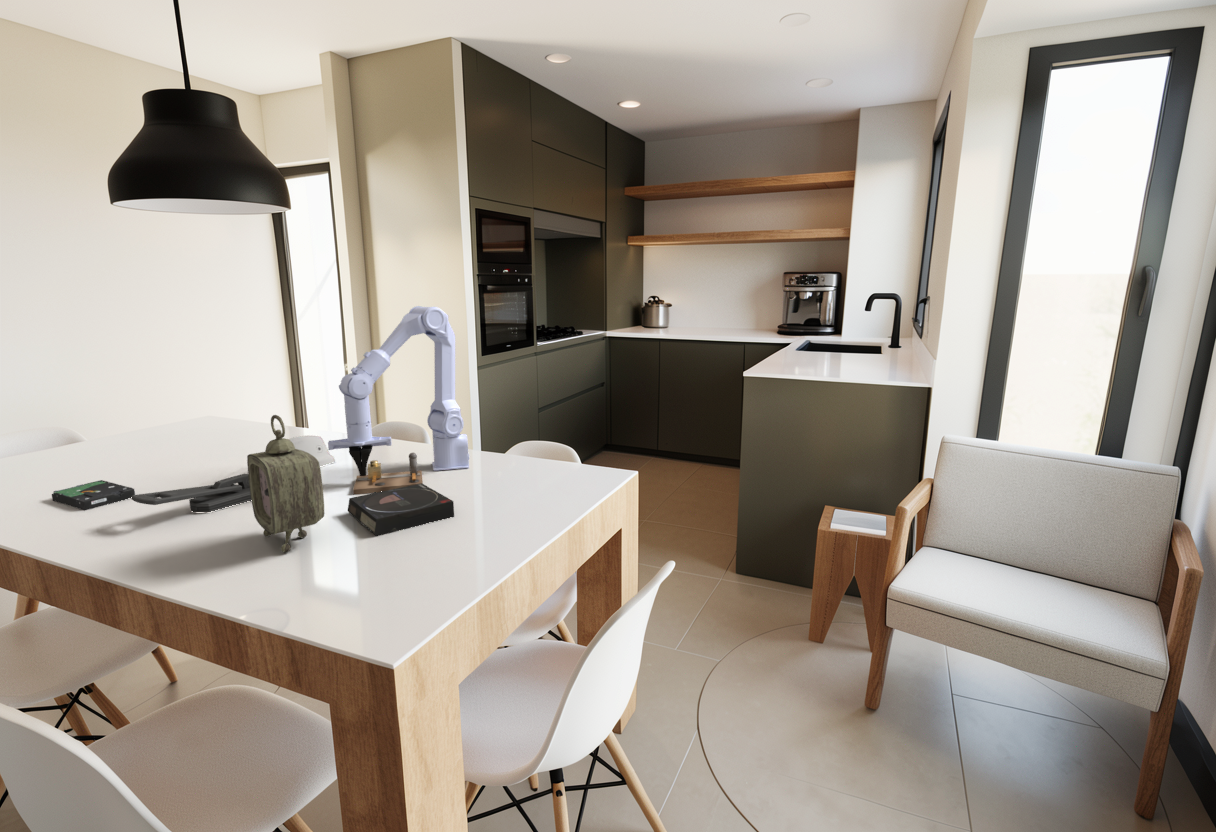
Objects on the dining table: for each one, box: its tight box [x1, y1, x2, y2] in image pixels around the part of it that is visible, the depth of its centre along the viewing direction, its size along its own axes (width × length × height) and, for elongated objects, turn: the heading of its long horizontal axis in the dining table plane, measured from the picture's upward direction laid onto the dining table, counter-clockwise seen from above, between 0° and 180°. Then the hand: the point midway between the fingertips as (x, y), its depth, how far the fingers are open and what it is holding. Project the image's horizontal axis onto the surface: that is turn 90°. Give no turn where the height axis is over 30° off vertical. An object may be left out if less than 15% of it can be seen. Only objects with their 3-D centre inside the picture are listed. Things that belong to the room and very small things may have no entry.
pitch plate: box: [352, 452, 424, 495], centre depth 154 cm, size 16×12×7 cm
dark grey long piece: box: [131, 473, 252, 513], centre depth 136 cm, size 9×7×25 cm
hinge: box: [288, 434, 336, 467], centre depth 167 cm, size 17×5×10 cm, turn 156°
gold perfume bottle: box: [367, 459, 383, 483], centre depth 152 cm, size 3×7×4 cm, turn 18°
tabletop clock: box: [246, 414, 325, 554], centre depth 117 cm, size 14×9×25 cm, turn 45°
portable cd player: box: [347, 483, 455, 537], centre depth 132 cm, size 16×17×4 cm
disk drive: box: [51, 479, 136, 511], centre depth 143 cm, size 10×3×15 cm
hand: (363, 474), depth 154 cm, fingers closed
